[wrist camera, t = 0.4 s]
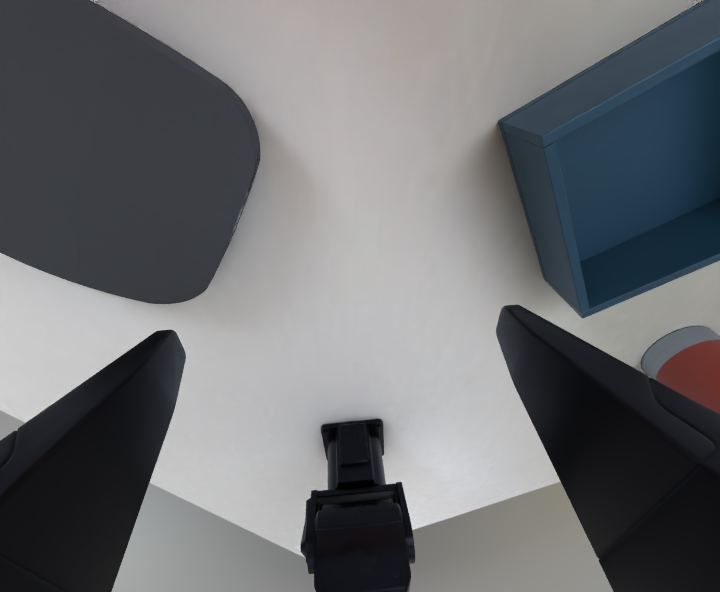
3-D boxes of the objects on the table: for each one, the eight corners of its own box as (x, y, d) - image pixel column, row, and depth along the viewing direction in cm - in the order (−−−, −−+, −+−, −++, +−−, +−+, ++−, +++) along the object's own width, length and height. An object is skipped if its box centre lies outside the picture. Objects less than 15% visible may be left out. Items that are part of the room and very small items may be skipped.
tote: (728, 194, 24) (809, 222, 20) (544, 279, 27) (582, 318, 23) (748, -26, 17) (878, -53, 13) (497, 120, 20) (540, 136, 16)
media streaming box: (-49, -85, 14) (-128, -115, 12) (282, 112, 19) (276, 120, 17) (-36, 212, 21) (-84, 233, 18) (206, 300, 26) (194, 326, 23)
